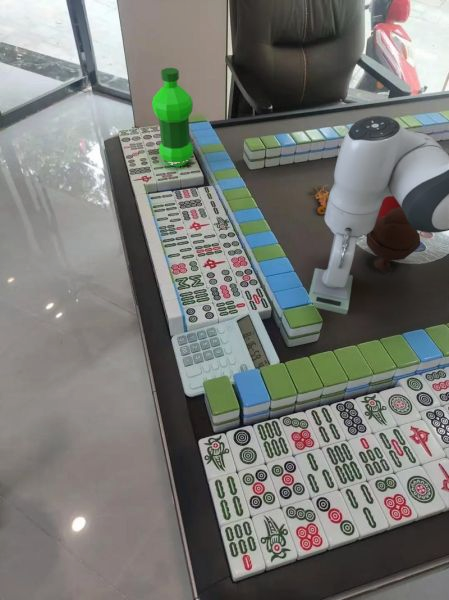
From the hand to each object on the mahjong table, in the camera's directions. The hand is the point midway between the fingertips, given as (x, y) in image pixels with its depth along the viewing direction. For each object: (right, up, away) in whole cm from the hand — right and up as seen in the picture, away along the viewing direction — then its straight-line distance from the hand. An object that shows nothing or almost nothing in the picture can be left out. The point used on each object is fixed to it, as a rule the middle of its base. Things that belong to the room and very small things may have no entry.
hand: (335, 270), depth 86 cm
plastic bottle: (-36, +34, +40) cm, 63 cm away
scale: (0, -5, +5) cm, 7 cm away
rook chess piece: (0, -2, +2) cm, 3 cm away
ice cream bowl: (+13, +1, +11) cm, 17 cm away
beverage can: (+19, +14, +22) cm, 32 cm away
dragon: (+3, +19, +26) cm, 33 cm away
